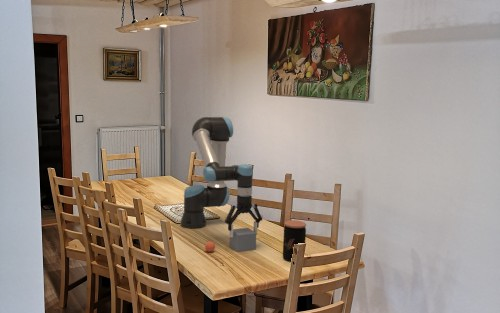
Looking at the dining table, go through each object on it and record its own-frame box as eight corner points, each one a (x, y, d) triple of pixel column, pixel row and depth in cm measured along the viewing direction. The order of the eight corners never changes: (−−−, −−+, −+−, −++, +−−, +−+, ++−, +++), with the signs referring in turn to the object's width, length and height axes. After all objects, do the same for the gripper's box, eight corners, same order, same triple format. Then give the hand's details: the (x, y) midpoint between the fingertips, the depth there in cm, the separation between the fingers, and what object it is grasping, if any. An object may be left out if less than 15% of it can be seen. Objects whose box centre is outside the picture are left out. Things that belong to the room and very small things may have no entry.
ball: (203, 250, 240) (203, 241, 239) (212, 249, 242) (213, 240, 241) (206, 253, 236) (207, 244, 235) (216, 252, 238) (216, 243, 237)
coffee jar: (278, 258, 233) (279, 222, 231) (292, 253, 241) (293, 219, 238) (294, 264, 226) (296, 227, 223) (308, 259, 233) (310, 223, 231)
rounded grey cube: (229, 245, 249) (230, 229, 248) (247, 243, 253) (247, 227, 252) (237, 251, 240) (238, 235, 239) (255, 249, 244) (256, 233, 243)
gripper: (224, 198, 234) (223, 239, 237) (269, 195, 244) (268, 235, 247) (219, 195, 241) (218, 235, 243) (263, 192, 251) (261, 231, 254)
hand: (243, 235), depth 245 cm, fingers open, 13 cm apart
